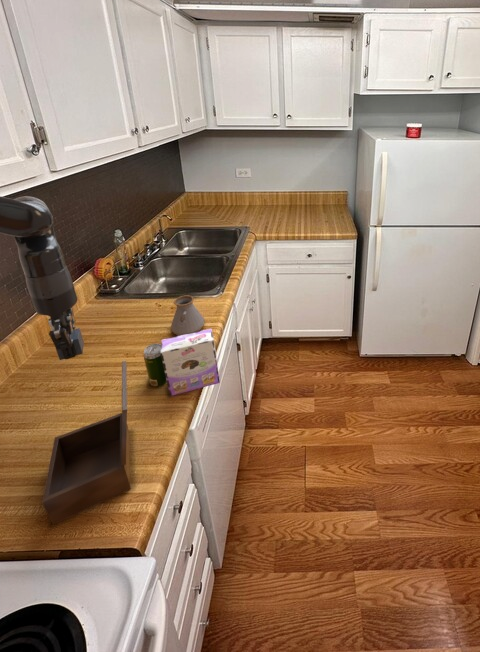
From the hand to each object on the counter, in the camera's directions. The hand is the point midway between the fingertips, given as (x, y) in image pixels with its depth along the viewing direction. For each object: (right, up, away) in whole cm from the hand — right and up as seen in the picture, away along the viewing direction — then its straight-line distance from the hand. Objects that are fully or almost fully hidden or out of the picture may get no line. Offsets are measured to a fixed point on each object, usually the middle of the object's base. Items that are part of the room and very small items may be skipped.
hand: (71, 350), depth 78 cm
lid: (+16, -11, -6) cm, 20 cm away
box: (+9, -26, -4) cm, 28 cm away
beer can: (+11, -17, +21) cm, 29 cm away
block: (0, 0, 0) cm, 0 cm away
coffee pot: (+13, -10, +38) cm, 41 cm away
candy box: (+22, -17, +20) cm, 34 cm away
